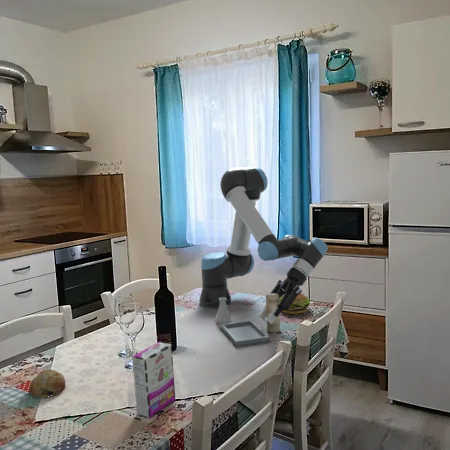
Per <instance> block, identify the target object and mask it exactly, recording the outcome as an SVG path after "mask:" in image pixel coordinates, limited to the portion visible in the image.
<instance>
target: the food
mask: <svg viewBox="0 0 450 450" xmlns="http://www.w3.org/2000/svg"><path fill="white" fill-rule="evenodd" d="M283 296H284V295H283ZM283 296H282V297H281V298H280V299H279V304H280V302H281V300H282V298H283ZM309 306H310V298H309V296H306V295H305V294H303V293H302V292H301V293H300V294H299V295H298V296H297V297H296V299H295V300H294V302H293V303H292V305H291V306H290V307H289V309H288V310H287V311H286V310H283V311H282V312H281V313H284V314H290V315H298V314H304V313H305V312H307V311H308V307H309ZM286 307H287V306H286Z"/></svg>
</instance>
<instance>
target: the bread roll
mask: <svg viewBox="0 0 450 450" xmlns="http://www.w3.org/2000/svg"><path fill="white" fill-rule="evenodd" d="M63 390H64V391H65V390H66V379H65V376H64V375H63V374H62V373H61V372H59V371H57V370H54V369H45V370H43V371H41V372H39V373H38V375H36V376H35V377H33V378H32V380H31V381H30V383H29V393H30V395H31V396H32V397H36V398H37V397H42V399H46V398H45V397H47V398H49V397H48V396H51V395H54V394H56V395H58V394H57V393H60V392H61V393H63V392H64V391H63ZM62 391H63V392H62ZM61 393H60V394H61ZM54 396H55V395H54ZM51 397H52V396H51Z"/></svg>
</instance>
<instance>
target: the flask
mask: <svg viewBox="0 0 450 450" xmlns="http://www.w3.org/2000/svg"><path fill="white" fill-rule="evenodd" d="M219 301H220V305H219V307H218V310H217V314H216V317H215V320H214V322H215V324H218V325H221V324H225V323H233V320H232V318H231V315H230V312H229V309H228V307H227V306H228V305H227V306H226V298H219Z"/></svg>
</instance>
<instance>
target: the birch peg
mask: <svg viewBox="0 0 450 450" xmlns="http://www.w3.org/2000/svg"><path fill="white" fill-rule="evenodd" d="M277 305H279V295H278V294H274V293H272V294H270V293H266V295H265V306H266V312H267V317H266V319H267V318H268V317H269V316H270V314H271V313H272V311H273V310H274V309H275V307H276V306H277ZM277 307H278V306H277ZM280 316H281V314H280V315H279V316H278V317H277V318H276V319H275V321H274V322H273V323H272V324H270V323H269V322H268V321H267V320H266V331H267V332H269V333H272V334H273V333H279V332H281V324H280V323H281V320H280V319H281V317H280Z"/></svg>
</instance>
